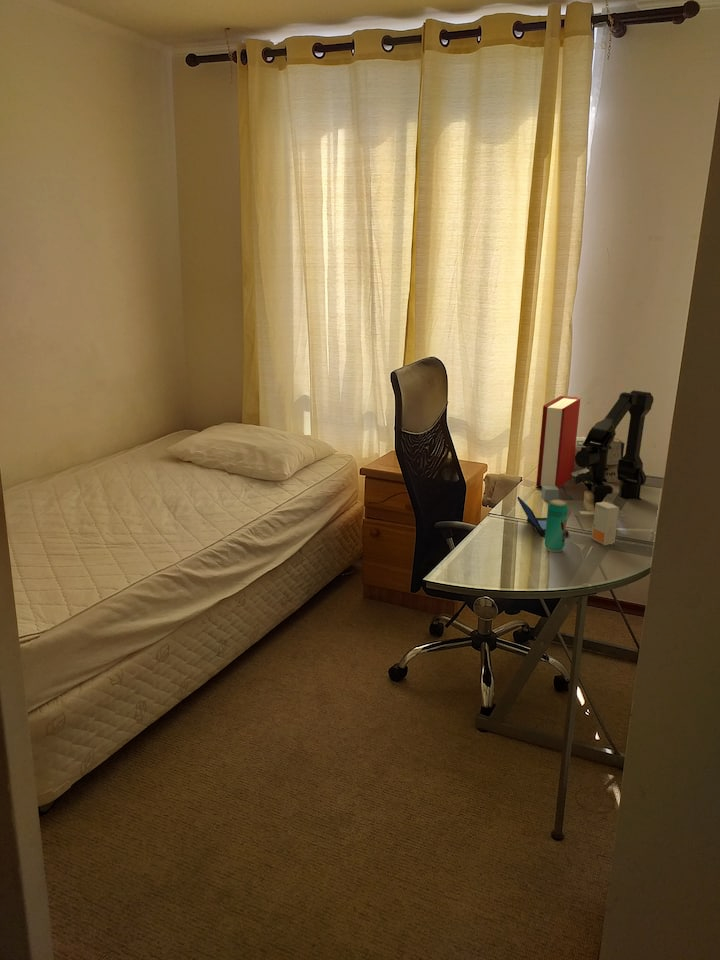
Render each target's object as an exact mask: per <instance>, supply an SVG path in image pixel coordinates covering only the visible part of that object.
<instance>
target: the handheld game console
mask: <svg viewBox="0 0 720 960" xmlns="http://www.w3.org/2000/svg"><path fill="white" fill-rule="evenodd" d="M516 498H517V501H518V502H519V504H520V506H521V508H522V510H523V512H524V513H525V515H526V522H527V523H528V525H529V524H530V526H531V527H533V528H534V529H535V531H536V532H537V534H538V535H539V536H540V537H545V533H546V522H547V517H536V515H535V514H534V511H533V510H532V509H531V507H529V505H528V504H527V503H525V501H524V500H522V499H521V497H519V496H517V497H516ZM567 536H569V531H568V530H567V529H566V534H565V537H567Z"/></svg>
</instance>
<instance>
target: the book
mask: <svg viewBox="0 0 720 960" xmlns="http://www.w3.org/2000/svg"><path fill="white" fill-rule="evenodd" d="M580 404H581V397H579V396H578V397H577V396H567V395H560V396H557V397H556V398H554V399H553V400H551V401H549V402H547V403H545V404H544V405H543V406H542V416H541V429H540V437H539V438H540V440H539V451H538V463H537V473H536V484H535V485H536V486H541V488H542V486H556V487H557V488H558V489H559V490H560V489H561V487H563V486H564V485H565V484H566V483H567V482H568V481H569V480H570V479H571V478H572V475H571V473H572V472H573V467H574V457H575V447H576V437H577V436H578V427H579V426H578V425H579V416H580V406H581V405H580ZM569 478H570V479H569ZM568 479H569V480H568Z"/></svg>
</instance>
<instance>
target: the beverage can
mask: <svg viewBox="0 0 720 960" xmlns="http://www.w3.org/2000/svg"><path fill="white" fill-rule="evenodd" d="M564 500H565V499H559V498H558V499H553V500H550V501H548V502H549V503H548V505H547V514H546V518H547V522H546V533H545V536H544V546H545V549H546V551H548V552H551V553H561V552H562V550H563V549H564V547H565V544H566V543H565V541H566V536H565V534H566V530H567V521H568V512H569V509H568V506H567V502H566V501H564Z"/></svg>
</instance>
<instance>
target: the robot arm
mask: <svg viewBox="0 0 720 960" xmlns="http://www.w3.org/2000/svg"><path fill="white" fill-rule="evenodd" d="M653 403H654V396H653V395H652V393H651V392H649V391H648V392H647V391H641V390H635V389H634V390H631V391H630V392H626V391H625V392H624V391H623V392H621V393H620V394H619V396H618V399H617V400H616V402H615V403H614V405H612V408H611V409H610V410H609V412H608V413H607V414H606V415H605V417H604V418H603V419H602V420H600V421H597V422H596V423H595V424H593V426H592V427H591V428H590V430H589V432H588V433H587V436H586V437H585V438H586V439H585V441H584V443H583V446H586V447H581V451H579V452H577V454H576V456H575V462H576V464H577V465H578V466H579V467H586V469H581V470H578V471H575V472H572V473H571V475H572V477H571V478H572V482H573V483H574V484H575V485H580V484H583V485H584V486H585V488H586V489H587V490H586V491H591V492H592V493H593V495H594V508H595V504H596V503H599V502H602V501H603V500H604V498H605V499H606V497H607V496H608V495H613V491H614V488H613V486H612V485H611V484H610V483H609V482H607V479H606V478H605V476H606V470H607V471H608V467H607V458H608V450H609V449H611V448H612V447H611V446H610V443H611V442H612V441H613V439H615V436H616V434H617V433H616V429H617V427H618V426H619V424H620V423H621V421H622V420H623V418H624V417H625V416H626V415H627V413H629V415H630V419H629V423H628V431H627V438H626V445H625V446H626V447H625V451H624V452H625V453H624V454H623V458H622V459H619V461H618V468H617V475H618V480H620V482H621V483H620V484H619V489H618V495H619V496H620V497H621V498H623V499H628V500H638V501H641V500H642V498H641V497H640V496H641V495H640V494H641V487H642V485H645V483H646V481H647V475H646V474H645V472H644V467H643V466H644V463H643V460H642V458H641V456H640V453H641V446H642V440H643V432H644V426H645V419H646V416H647V415H648V413H649V412H650V411H651V409H652V406H653ZM591 442H592V443H591Z"/></svg>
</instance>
